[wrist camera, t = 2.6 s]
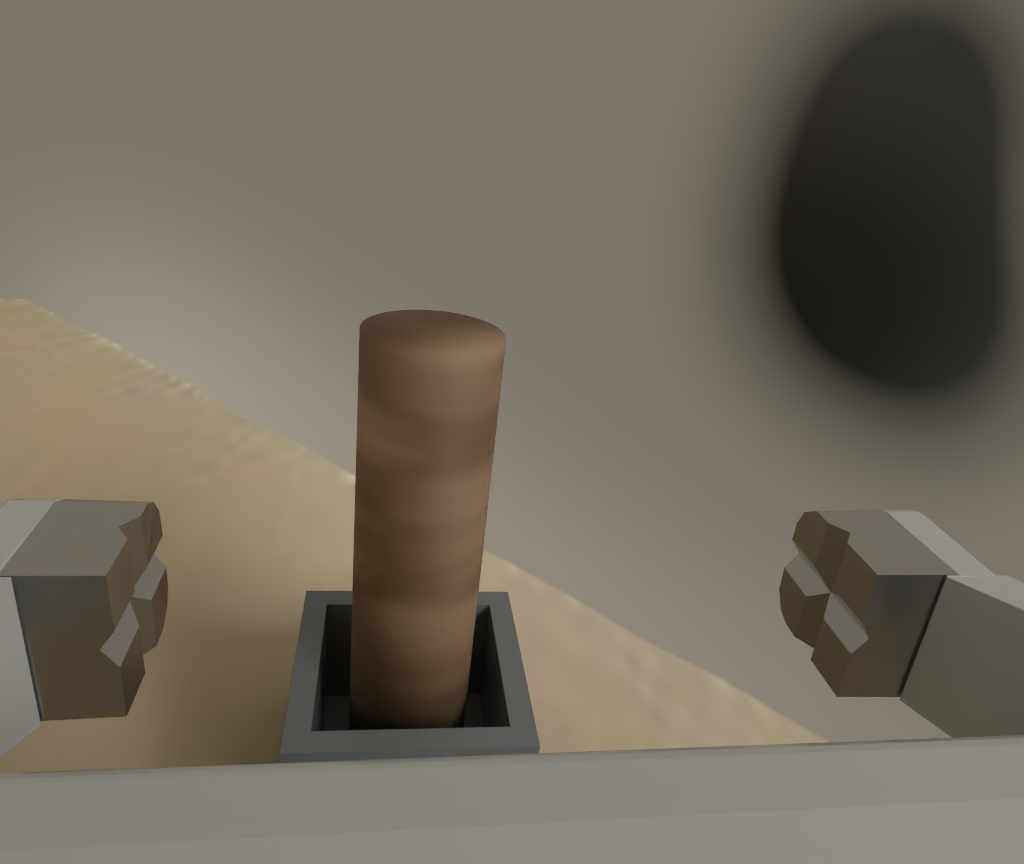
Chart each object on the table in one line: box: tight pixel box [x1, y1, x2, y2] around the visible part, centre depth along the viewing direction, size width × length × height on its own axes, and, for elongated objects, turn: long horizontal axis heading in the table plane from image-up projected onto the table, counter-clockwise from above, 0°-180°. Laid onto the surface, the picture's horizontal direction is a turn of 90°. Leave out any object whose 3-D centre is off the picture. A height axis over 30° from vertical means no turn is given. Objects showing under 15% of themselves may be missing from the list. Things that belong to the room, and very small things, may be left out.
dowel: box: [349, 310, 506, 730], centre depth 25 cm, size 4×4×16 cm
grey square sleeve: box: [279, 591, 540, 763], centre depth 27 cm, size 8×8×5 cm
